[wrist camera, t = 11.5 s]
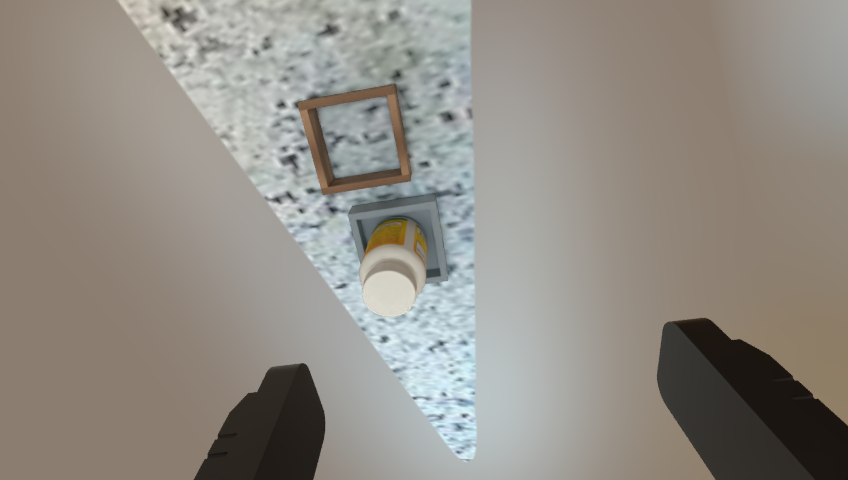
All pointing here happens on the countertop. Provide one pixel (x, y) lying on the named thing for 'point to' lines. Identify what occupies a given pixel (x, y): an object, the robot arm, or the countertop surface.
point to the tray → (412, 208)
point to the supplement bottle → (394, 266)
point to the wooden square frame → (320, 152)
